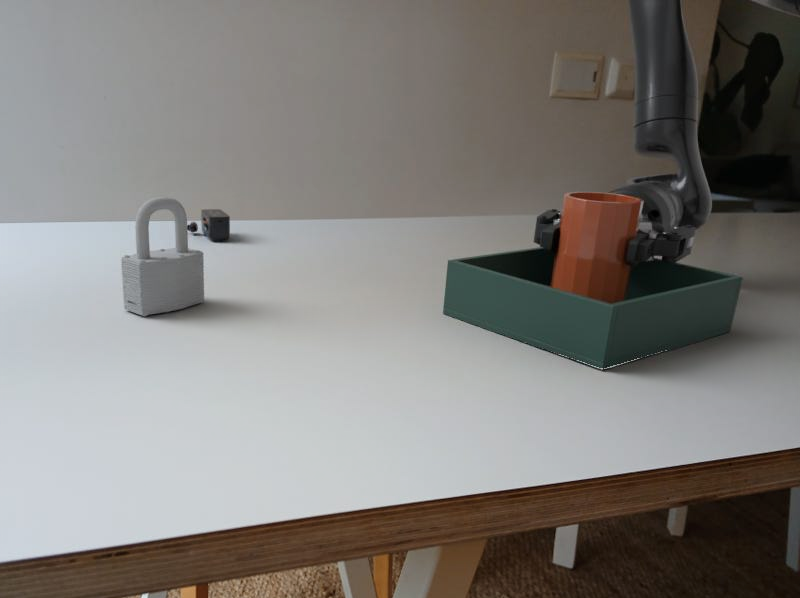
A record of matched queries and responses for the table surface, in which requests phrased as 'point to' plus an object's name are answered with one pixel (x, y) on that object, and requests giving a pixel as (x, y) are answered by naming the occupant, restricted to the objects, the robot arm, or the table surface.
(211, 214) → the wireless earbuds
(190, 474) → the table surface
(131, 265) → the padlock
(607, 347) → the tub
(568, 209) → the tumbler
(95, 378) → the table surface
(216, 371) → the table surface
